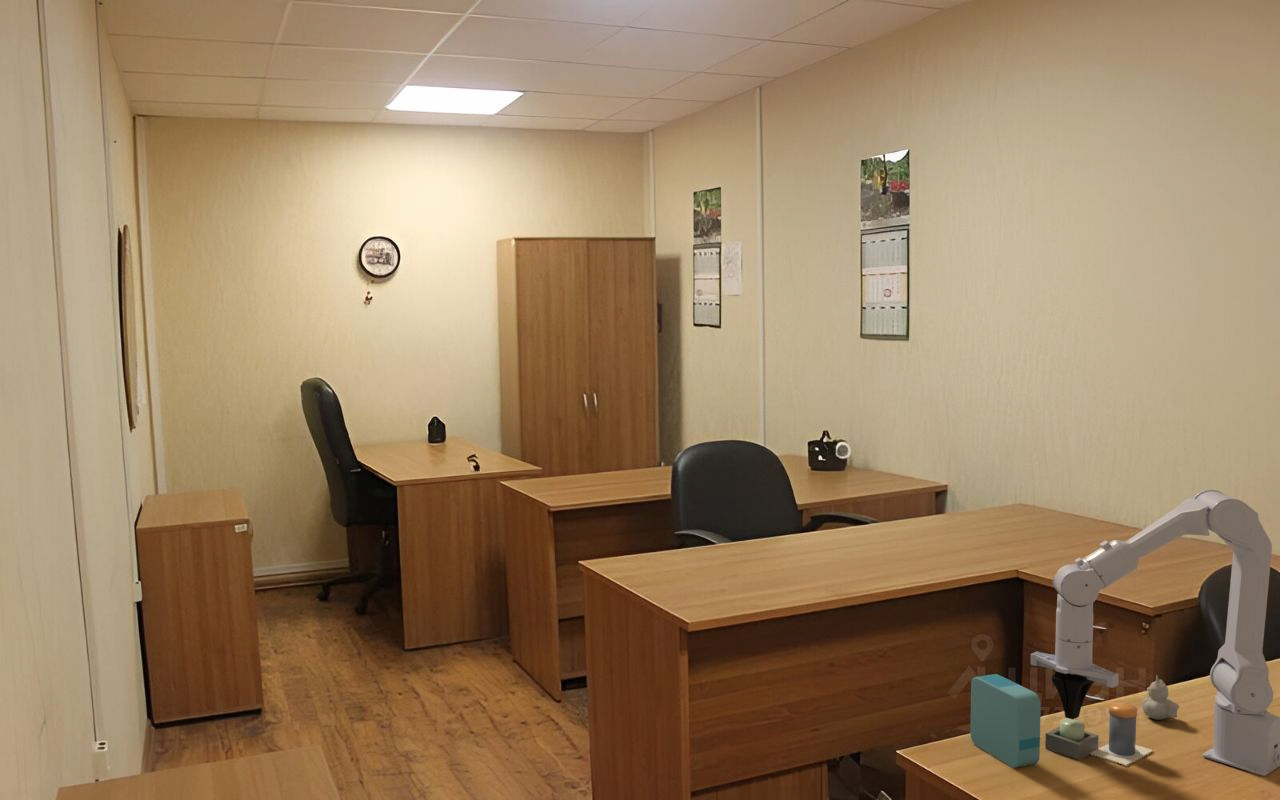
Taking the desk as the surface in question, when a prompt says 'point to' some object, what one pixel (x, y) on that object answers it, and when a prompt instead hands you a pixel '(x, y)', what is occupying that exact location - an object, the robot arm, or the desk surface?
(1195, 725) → the desk surface
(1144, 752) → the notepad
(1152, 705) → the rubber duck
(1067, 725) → the button
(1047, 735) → the button housing
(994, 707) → the data package
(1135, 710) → the orange-capped grey cylinder
